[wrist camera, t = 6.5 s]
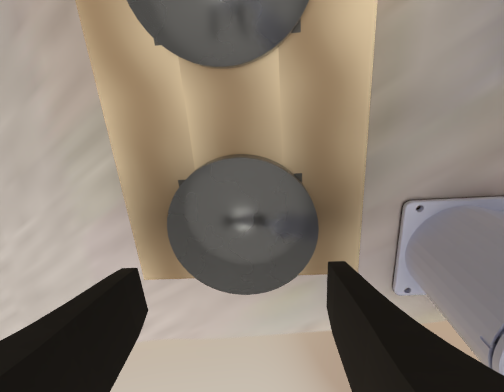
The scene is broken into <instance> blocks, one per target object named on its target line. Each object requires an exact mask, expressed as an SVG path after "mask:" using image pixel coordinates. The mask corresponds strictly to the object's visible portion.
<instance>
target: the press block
mask: <svg viewBox="0 0 504 392" xmlns="http://www.w3.org/2000/svg"><path fill="white" fill-rule="evenodd" d="M75 1H76V5H77V9H78V13H79V17H80V21H81V25H82V30H83V34H84V38H85V42H86V46H87V50H88V54H89V58H90V62H91V66H92V70H93V74H94V78H95V82H96V86H97V90H98V94H99V98H100V102H101V106H102V111H103V115H104V119H105V123H106V127H107V131H108V135H109V139H110V143H111V147H112V151H113V155H114V159H115V163H116V167H117V171H118V175H119V179H120V183H121V187H122V192H123V196H124V200H125V204H126V208H127V212H128V216H129V220H130V224H131V228H132V232H133V236H134V240H135V244H136V248H137V252H138V256H139V260H140V264H141V268H142V273H143V277H144V280H153V279H186V278H195V277H193V276H192V275H191V274H190V273H189V272H188V271H187V270H186V269H185V268H184V267H183V266H182V264H181V263H180V262H179V261H178V259H177V257H176V256H175V254H174V252H173V250H172V247H171V245H170V241H169V238H168V232H167V216H168V210H169V207H170V204H171V201H172V199H173V197H174V195H175V193H176V191H177V190H178V188H179V187H180V185H181V184H182V183H183V182H184V181H185V180H186V179H187V178H188V177H189V176H190V175H191V174H192V173H193V172H194V171H195V170H196V169H198V168H199V167H200V166H202V165H204V164H205V163H207V162H209V161H211V160H214V159H216V158H219V157H223V156H227V155H234V154H249V155H257V156H261V157H265V158H268V159H270V160H273V161H275V162H277V163H279V164H281V165H282V166H284V167H286V168H287V169H288V170H290V171H291V172H292V173H293V174H294V175H295V176H296V177H297V178H298V179H299V180H300V181H301V182H302V184H303V185H304V186H305V188H306V190H307V191H308V193H309V195H310V197H311V199H312V202H313V204H314V207H315V210H316V213H317V218H318V227H319V232H318V240H317V245H316V248H315V251H314V253H313V256H312V257H311V259H310V261H309V263H308V264H307V265H306V267H305V268H304V269H303V270H302V271H301V272H300V273H299V274H298V275H318V274H328V262H329V261H346V262H347V263H348V264H349V265H350V266H351V267H352V268H353V269H354V270H355V271H356V272H358V265H359V251H360V237H361V223H362V209H363V195H364V181H365V167H366V153H367V139H368V125H369V111H370V97H371V83H372V69H373V55H374V41H375V28H376V14H377V0H309V2H308V4H307V6H306V8H305V11H304V13H303V14H302V16H301V18H300V20H299V22H298V23H297V25H296V26H295V28H294V29H293V31H292V32H291V33H290V35H289V36H288V37H287V38H286V39H285V40H284V41H283V42H282V44H280V45H279V46H278V47H277V48H276V49H275V50H273V51H272V52H271V53H269V54H268V55H266V56H265V57H263V58H262V59H260V60H257V61H255V62H253V63H251V64H248V65H245V66H241V67H236V68H230V69H216V68H209V67H204V66H201V65H197V64H194V63H192V62H190V61H187V60H185V59H183V58H181V57H179V56H177V55H175V54H174V53H172V52H170V51H169V50H167V49H166V48H165V47H163V46H162V45H161V44H159V43H158V42H157V41H156V40H155V39H154V38H153V37H152V36H151V35H150V34H149V33H148V32H147V31H146V30H145V28H144V27H143V26H142V25H141V23H140V22H139V21H138V19H137V18H136V16H135V14H134V13H133V11H132V10H131V8H130V6H129V4H128V2H127V0H75Z"/></svg>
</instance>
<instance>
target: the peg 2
mask: <svg viewBox="0 0 504 392" xmlns="http://www.w3.org/2000/svg"><path fill="white" fill-rule="evenodd" d="M167 232H168V238H169V241H170V245H171V247H172V250H173V252H174V254H175V256H176V257H177V259H178V261H179V262H180V263H181V264H182V266H183V267H184V268H185V269H186V270H187V271H188V272H189V273H190V274H191V275H192V276H193V277H195V278H196V279H197V280H199V281H200V282H202V283H204V284H205V285H207V286H209V287H211V288H214V289H217V290H219V291H223V292H227V293H232V294H241V295H250V294H259V293H264V292H268V291H271V290H274V289H277V288H279V287H281V286H283V285H285V284H287V283H288V282H290V281H291V280H292V279H294V278H295V277H296V276H297V275H298V274H299V273H300V272H301V271H302V270H303V269H304V268H305V267H306V265H307V264H308V263H309V261H310V259H311V257H312V256H313V253H314V251H315V248H316V245H317V240H318V232H319V227H318V218H317V213H316V210H315V207H314V204H313V202H312V199H311V197H310V195H309V193H308V191H307V190H306V188H305V186H304V185H303V184H302V182H301V181H300V180H299V179H298V178H297V177H296V176H295V175H294V174H293V173H292V172H291V171H290V170H288V169H287V168H286V167H284V166H282V165H281V164H279V163H277V162H275V161H273V160H270V159H268V158H265V157H261V156H257V155H249V154H234V155H227V156H223V157H219V158H216V159H214V160H211V161H209V162H207V163H205V164H204V165H202V166H200V167H199V168H198V169H196V170H195V171H194V172H193V173H192V174H191V175H190V176H189V177H188V178H187V179H186V180H185V181H184V182H183V183H182V184H181V185H180V187H179V188H178V190H177V191H176V193H175V195H174V197H173V199H172V201H171V204H170V207H169V210H168V216H167Z"/></svg>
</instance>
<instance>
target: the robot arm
mask: <svg viewBox="0 0 504 392" xmlns="http://www.w3.org/2000/svg"><path fill="white" fill-rule="evenodd" d="M419 205H421V207H420V209H418V210H416V208H417V206H419ZM406 288H408V289H407V290H405V289H406ZM393 291H394V292H395V294H397V295H427V296H428V297H429V298H430V300H431V301H432V302H433V303H434V304H435V306H436V307H437V308H438V309H439V311H440V312H441V313H442V314H443V316H444V317H445V318H446V319H447V321H448V322H449V323H450V324H451V325H452V327H453V328H454V329H455V330H456V332H457V333H458V334H459V335H460V337H461V338H462V339H463V340H464V342H465V343H466V344H467V345H468V346H469V348H470V349H471V350H472V351H473V352H474V354H475V355H476V356H477V358H478V359H479V360H480V361H481V362H479V361H477V360H476V359H474V358H472V357H470V356H469V355H467V354H465V353H464V352H462V351H460V350H459V349H457V348H456V347H454V346H452V345H450V344H449V343H447V342H446V341H444V340H443V339H442V338H440V337H438V336H437V335H436V334H434V333H432V332H431V331H430V330H428V329H427V328H425V327H424V326H422V325H421V324H419V323H418V322H417V321H415V320H414V319H413V318H411V317H410V316H409V315H407V314H406V313H405V312H403V311H402V310H401V309H399V308H398V307H397V306H396V305H394V304H393V303H392V302H391V301H389V300H388V299H387V298H386V297H385V296H383V295H382V294H381V293H380V292H379V291H378V290H376V289H375V288H374V287H373V286H372V285H371V284H370V283H368V282H367V281H366V280H365V279H364V278H363V277H362V276H361V275H360V274H359V273H358V272H356V271H355V270H354V269H353V268H352V267H351V266H350V265H349V264H348V263H347V262H346V261H329V262H328V277H327V310H328V315H329V320H330V325H331V329H332V333H333V336H334V339H335V342H336V345H337V349H338V352H339V355H340V358H341V361H342V363H343V366H344V369H345V372H346V375H347V378H348V381H349V383H350V387H351V389H352V392H504V196H497V197H476V198H455V199H434V200H414V201H408V202H406V203H405V204H404V206H403V211H402V218H401V226H400V234H399V242H398V250H397V258H396V266H395V274H394V282H393ZM147 312H148V308H147V304H146V300H145V296H144V292H143V288H142V284H141V280H140V276H139V273H138V269H137V268H122V269H120V270H118V271H116V272H115V273H113V274H111V275H110V276H108V277H106V278H105V279H103V280H101V281H100V282H98V283H97V284H95V285H94V286H92V287H91V288H89V289H87V290H86V291H84V292H83V293H81V294H80V295H78V296H76V297H75V298H73V299H72V300H70V301H69V302H67V303H65V304H64V305H62V306H60V307H59V308H57V309H55V310H54V311H52V312H50V313H49V314H47V315H45V316H44V317H42V318H40V319H39V320H37V321H36V322H34V323H32V324H30V325H29V326H27V327H25V328H23V329H21V330H20V331H18V332H16V333H14V334H12V335H10V336H8V337H7V338H5V339H3V340H1V341H0V392H110V390H111V388H112V386H113V385H114V383H115V381H116V379H117V377H118V375H119V373H120V371H121V370H122V368H123V366H124V364H125V362H126V360H127V358H128V356H129V354H130V352H131V350H132V348H133V347H134V345H135V343H136V341H137V339H138V337H139V334H140V332H141V329H142V326H143V324H144V321H145V318H146V315H147Z"/></svg>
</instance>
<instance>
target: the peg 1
mask: <svg viewBox="0 0 504 392" xmlns="http://www.w3.org/2000/svg"><path fill="white" fill-rule="evenodd" d="M127 2H128V4H129V6H130V8H131V10H132V11H133V13H134V14H135V16H136V18H137V19H138V21H139V22H140V23H141V25H142V26H143V27H144V28H145V30H146V31H147V32H148V33H149V34H150V35H151V36H152V37H153V38H154V39H155V40H156V41H157V42H158V43H159V44H161V45H162V46H163V47H165V48H166V49H167V50H169V51H170V52H172V53H174V54H175V55H177V56H179V57H181V58H183V59H185V60H187V61H190V62H192V63H194V64H197V65H201V66H204V67H209V68H216V69H230V68H236V67H241V66H245V65H248V64H251V63H253V62H255V61H257V60H260V59H262V58H263V57H265V56H266V55H268V54H269V53H271V52H272V51H273V50H275V49H276V48H277V47H278V46H279V45H280V44H282V42H283V41H284V40H285V39H286V38H287V37H288V36H289V35H290V33H291V32H292V31H293V29H294V28H295V26H296V25H297V23H298V22H299V20H300V18H301V16H302V14H303V13H304V11H305V8H306V6H307V4H308V2H309V0H127Z"/></svg>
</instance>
